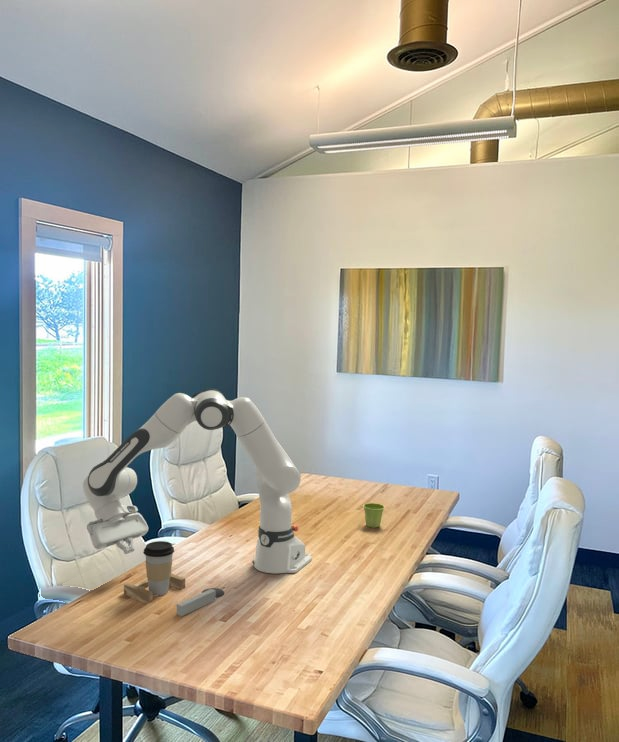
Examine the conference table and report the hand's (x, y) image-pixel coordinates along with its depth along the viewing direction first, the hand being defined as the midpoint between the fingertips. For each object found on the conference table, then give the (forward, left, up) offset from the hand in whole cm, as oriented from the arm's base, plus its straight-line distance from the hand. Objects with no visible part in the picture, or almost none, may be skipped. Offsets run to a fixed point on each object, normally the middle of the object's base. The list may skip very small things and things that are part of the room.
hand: (130, 552), depth 202 cm
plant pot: (-104, +32, -10) cm, 110 cm away
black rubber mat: (-10, +27, -10) cm, 31 cm away
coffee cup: (0, +13, -10) cm, 17 cm away
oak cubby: (0, +12, -10) cm, 15 cm away
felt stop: (0, +30, -10) cm, 32 cm away
